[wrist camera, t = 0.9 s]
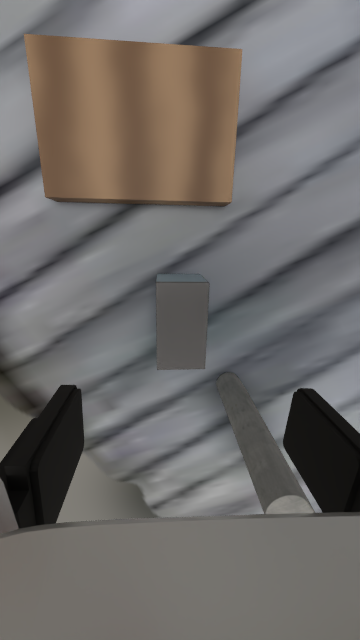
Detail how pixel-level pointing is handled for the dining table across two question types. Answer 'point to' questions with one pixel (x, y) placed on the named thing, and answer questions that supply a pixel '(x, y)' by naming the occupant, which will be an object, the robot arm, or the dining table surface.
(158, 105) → the stand
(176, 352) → the block
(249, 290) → the dining table surface
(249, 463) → the hip flask
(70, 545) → the robot arm
